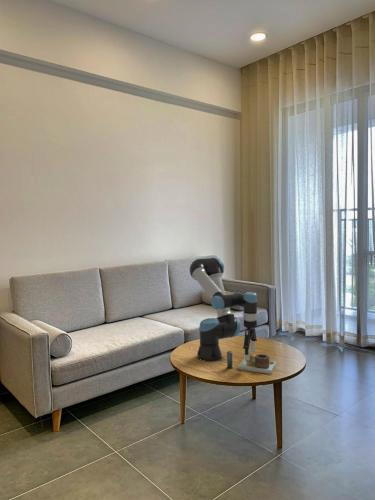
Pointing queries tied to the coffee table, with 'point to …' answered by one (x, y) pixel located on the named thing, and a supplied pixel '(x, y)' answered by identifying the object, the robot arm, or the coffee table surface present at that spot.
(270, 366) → the tray
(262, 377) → the coffee table surface
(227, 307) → the robot arm
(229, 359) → the cylinder
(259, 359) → the brown octagonal handled piece
